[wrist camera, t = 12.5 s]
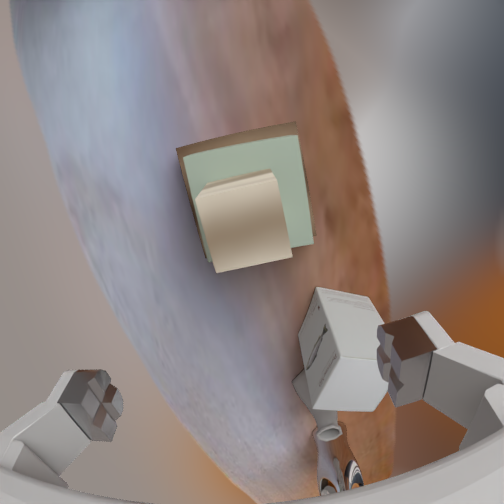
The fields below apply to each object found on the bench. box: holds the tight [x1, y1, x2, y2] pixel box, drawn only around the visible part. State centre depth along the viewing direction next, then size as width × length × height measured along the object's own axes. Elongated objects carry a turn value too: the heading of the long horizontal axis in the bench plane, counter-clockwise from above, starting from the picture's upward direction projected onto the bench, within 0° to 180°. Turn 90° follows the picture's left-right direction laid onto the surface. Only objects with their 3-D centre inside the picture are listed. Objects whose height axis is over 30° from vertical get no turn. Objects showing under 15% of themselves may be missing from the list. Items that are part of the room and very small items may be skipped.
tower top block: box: [183, 135, 314, 262], centre depth 27 cm, size 9×9×4 cm
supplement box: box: [298, 287, 388, 412], centre depth 32 cm, size 7×7×13 cm
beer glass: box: [312, 421, 364, 496], centre depth 40 cm, size 7×7×15 cm
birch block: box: [195, 168, 293, 273], centre depth 22 cm, size 5×5×6 cm
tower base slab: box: [176, 122, 316, 258], centre depth 30 cm, size 11×11×4 cm
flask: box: [292, 369, 343, 442], centre depth 37 cm, size 7×7×10 cm
